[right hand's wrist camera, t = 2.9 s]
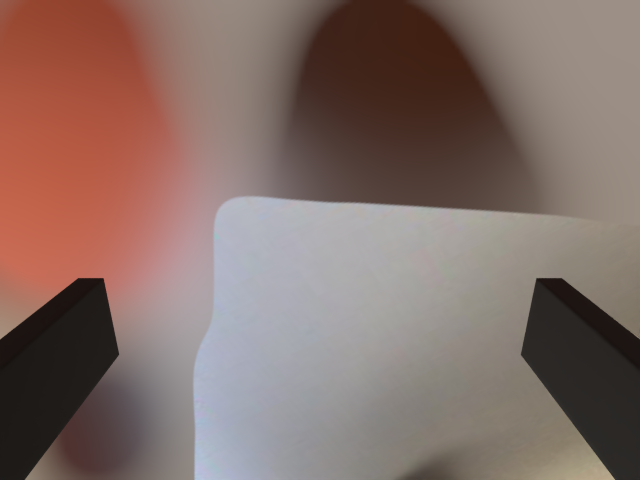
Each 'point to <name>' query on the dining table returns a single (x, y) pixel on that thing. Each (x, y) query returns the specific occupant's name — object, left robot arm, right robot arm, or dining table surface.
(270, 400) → the dining table surface
